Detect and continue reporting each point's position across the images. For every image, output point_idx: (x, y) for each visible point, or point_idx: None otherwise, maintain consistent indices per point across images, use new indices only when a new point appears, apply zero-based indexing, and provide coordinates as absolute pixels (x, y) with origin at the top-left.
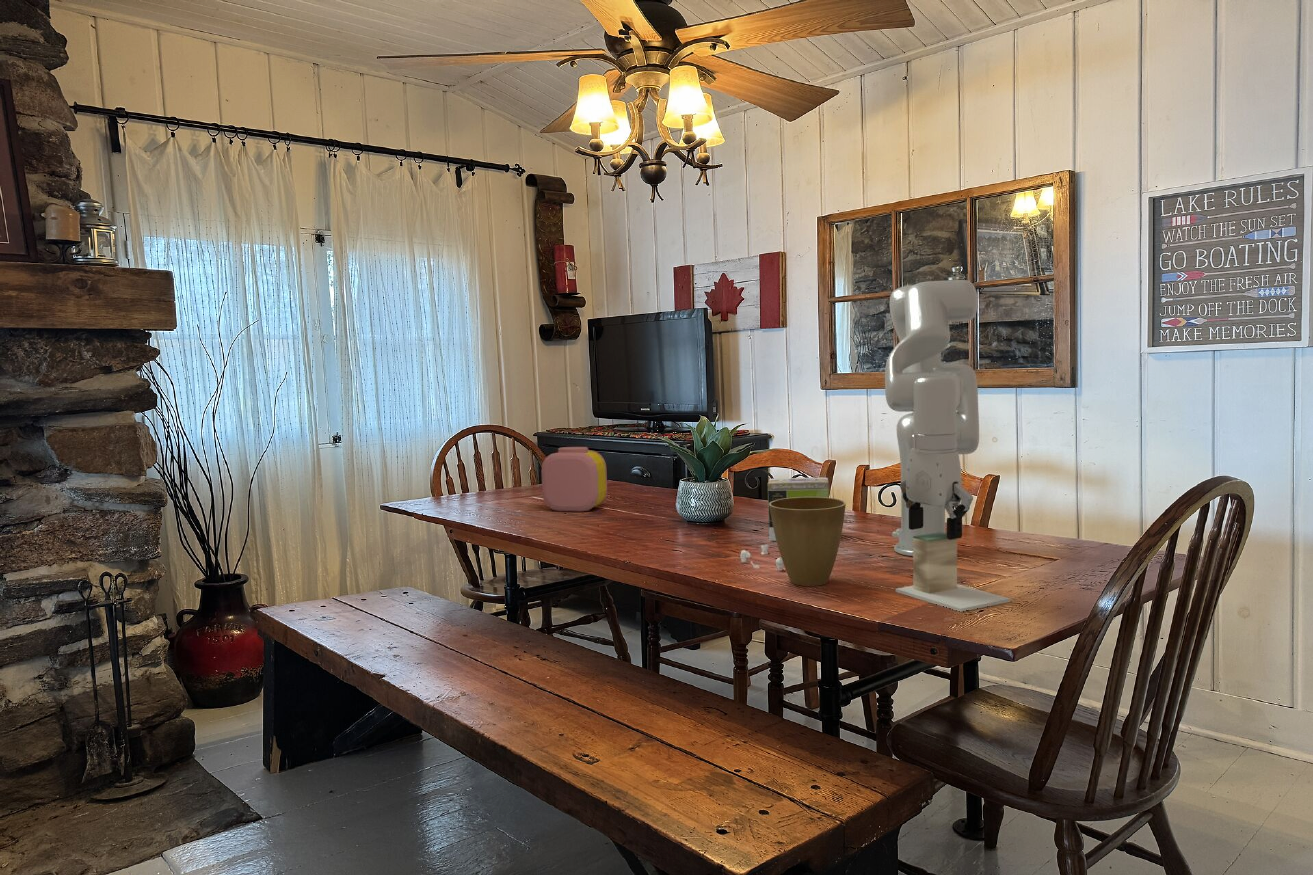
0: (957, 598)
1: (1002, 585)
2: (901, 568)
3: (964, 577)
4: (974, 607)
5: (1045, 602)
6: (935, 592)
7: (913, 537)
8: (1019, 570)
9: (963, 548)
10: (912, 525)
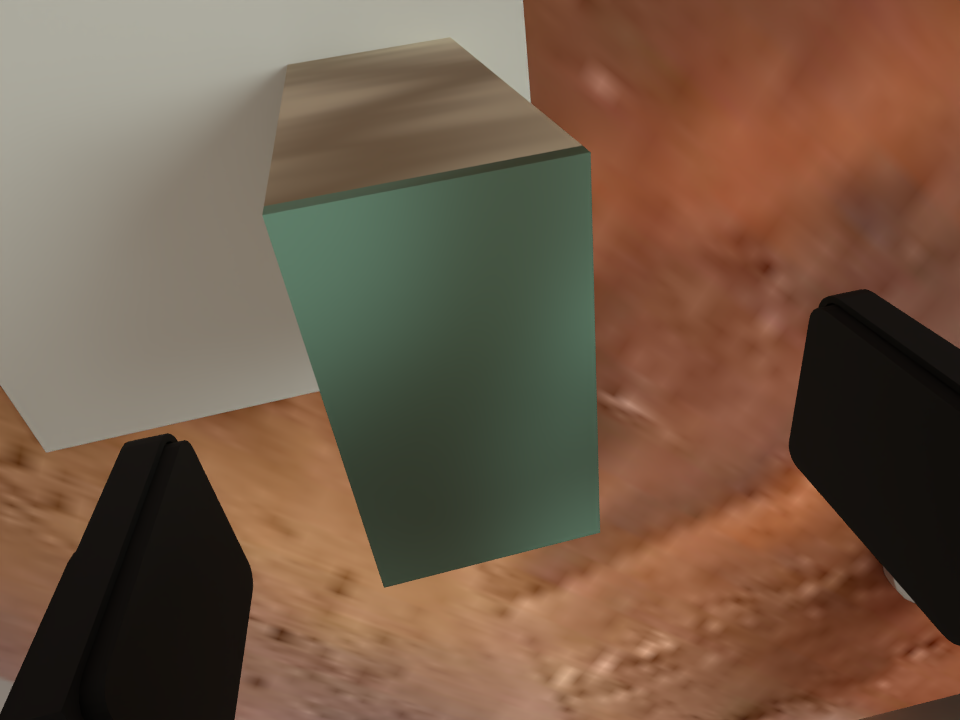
0: (100, 178)
1: None
2: (895, 295)
3: None
4: None
5: (19, 564)
6: None
7: (577, 149)
8: (558, 664)
9: (904, 631)
10: (843, 337)
